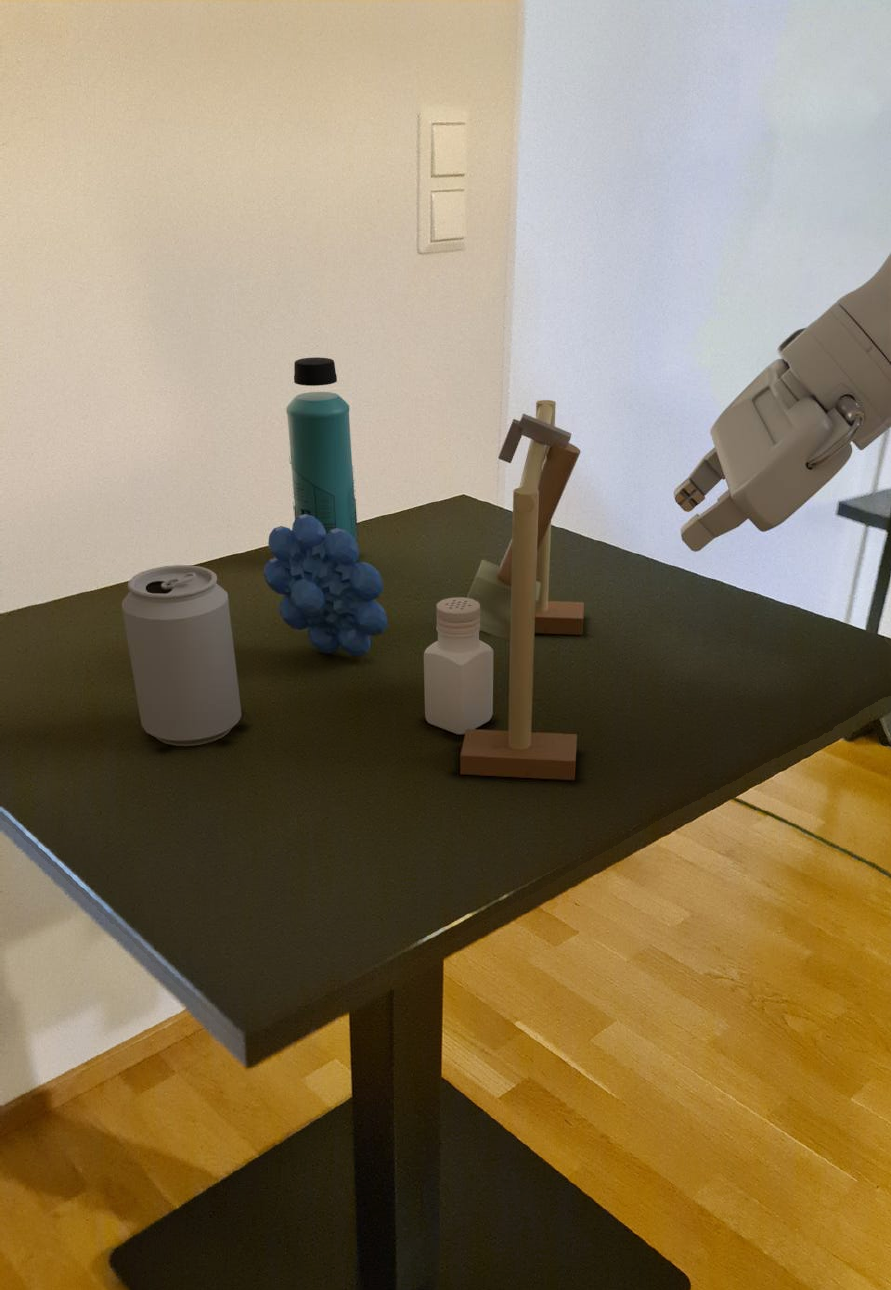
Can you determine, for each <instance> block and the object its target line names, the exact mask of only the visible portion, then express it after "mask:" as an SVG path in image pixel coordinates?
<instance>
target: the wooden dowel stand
mask: <svg viewBox="0 0 891 1290" xmlns="http://www.w3.org/2000/svg"><path fill="white" fill-rule="evenodd" d="M556 405H557V403H556V401H555V400H550V399H540V400H536V402H535V418H536V419H538V420H540V421H543V422H545V423H548V424H550V425H552V426H555V427H556V407H557V406H556ZM549 448H550V446H547V445H545V444H542V443H540V442H538V441H535V440H533V439H530V442H529V445H528V449H527V453H526V458H525V460H524V461H525V462H524V466H523V470H522V475H521V478H520V482H519V485H518V486H519V487H517V488H514V489H513V491H512V533H511V539H512V582H511V632H510V642H509V686H508V689H509V690H508V693H509V694H508V730H497V729H496V730H495V729H493V730H492V729H477V728H475V729H467V730H466V733H465V734H464V737H463V742H462V746H461V751H460V755H459V761H460V763H459V764H460V765H459V767H460V769H459V774H460V775H465V776H482V777H484V776H485V777H502V778H503V777H504V778H523V779H541V780H559V781H575V779H576V764H577V763H576V762H577V743H578V735H577V734H575V733H557V732H553V733H552V732H537V731H536V732H535V731H532V723H533V694H534V693H533V691H534V690H533V689H534V657H535V634H542V635H543V634H546V635H547V634H548V635H570V636H572V635H573V636H574V635H575V636H582V635H583V631H584V630H583V629H584V613H585V612H584V611H585V610H584V609H585V602H584V601H564V600H563V601H562V600H561V601H559V600H549V593H550V592H549V589H550V565H551V564H550V563H551V560H550V559H551V542H552V541H551V540H552V539H551V535H552V521H551V522H550V524H549V526H548V529H547V531H546V533H545V535H544V538H543V540H542V542H541V545H540V547H539V549H538V552H537V536H538V504H539V490H538V485H539V480H540V475H541V470H542V465H543V462H544V460H545V457H546V455H547V453H548V450H549ZM536 581H538V582H540V583H541V585H540V592H539V598H538V603H537V605H536V607H535V599H536Z"/></svg>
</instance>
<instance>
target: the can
mask: <svg viewBox="0 0 891 1290" xmlns="http://www.w3.org/2000/svg"><path fill="white" fill-rule="evenodd" d="M217 582H218V576H217V574H216V573H215V572H214V571H213V570H211V569H209V568H206V567H203V566H197V565H192V564H191V565H189V564H188V565H187V564H175V565H164V566H158V567H153V568H149V569H146V570H143V571H141V572H139V573H137V574H134V575H133V576H132V577H131V578H130V579H129V581H127V589H128V590H129V592H128V593H127V595H126V596H125V597H124V598H123V600H122V602H121V611H122V618H123V623H124V630H125V634H126V641H127V648H128V652H129V653H128V655H129V660H130V666H131V670H132V671H131V672H132V677H133V683H134V689H135V695H136V700H137V706H138V712H139V719H140V725H141V727H142V729H143V730H144V731H145V732H146V734H149V735H151V736H152V737H155V738H156V739H157V740H158V741H159V742H162V743H164V744H167V745H171V746H178V747H191V746H192V747H193V746H201V745H204V744H209V743H212V742H214V741H218V740H219V739H222V738H224V736H225V737H226V735H227V734H229V733H230V731H231V729H232V728H234V727H235V726H236V725H237V724H238V723H239V722H240V720H241V718H242V717H243V716H242V706H241V698H240V697H241V696H240V688H239V681H238V674H237V664H236V654H235V648H234V646H235V645H234V637H233V629H232V621H231V613H230V612H231V611H230V603H229V595H228V592H227V591H226V590H225V589H224V588H223V587H222V586H220V585H219V584H218V583H217Z"/></svg>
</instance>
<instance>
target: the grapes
mask: <svg viewBox="0 0 891 1290" xmlns="http://www.w3.org/2000/svg"><path fill="white" fill-rule="evenodd" d="M294 520H295V519H294ZM267 543H268V545H267V546H268V548H269V551H270V553H271V554H272V556H273V557H272V558H269V559H268V561H267V562H266V563H265V564H264V566H263V577H264V580H265V582H266V584H267V586H268V587H269V588H270V589H271V590H272V591H274V592H275V593H276V594H279V595H283V597H282V598H281V600H280V601H279V609H278V611H279V614H280V617H281V618H282V620H283V622H284V623H285V624H286V625H288V627H290V628H292V629H294V630H298V631H302V630H304V629H307V637H308V640H309V642H310V644H311V645H312V647H314V648H315V649H316V650H317V651H318V652H320V653H322V654H326V655H330V654H333V653H336V652H337V651H338V650H339V648H341V649H342V650H343V651H344V652H345V653H347V654H348V655H349V656H353V657H362V656H365V655H366V654H367V653H368V651H369V650H370V648H371V641H372V639H371V636H372V637H377V636H378V635H382V634H383V633H384V632H385V630H386V629H387V628H388V616H387V613H386V611H385V609H384V607H383V606H382V605H381V604H380V603H379V602H377V601H376V599H378V598H379V597H380V595H381V594H382V593H383V591H384V581H383V579H382V576H381V573H380V571H379V570H378V569H376V568H375V567H374V565H372V564H371V563H368V562H366V561H365V562H364V561H359V562H357V561H358V560H359V558H360V548H359V546H358V543H357V541H356V540H355V538H354V537H353V536H352V535H350V534H349V533H348V532H347V531H346V530H343V529H339V528H336V529H333V530H330V531H329V532H328V534H326V531H325V529H324V527H323V524H322V523H321V522H319V521H318V520H317V519H316V518H315V517H313V516H310V515H307V514H304V515H300V516H298V517H297V518H296V520H295V521H293V523H292V526H291V528H289V527H286V526H282V525H280V526H277V527H274V528H273V529H272V530H271V532H270V533H269V535H268V541H267Z"/></svg>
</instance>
